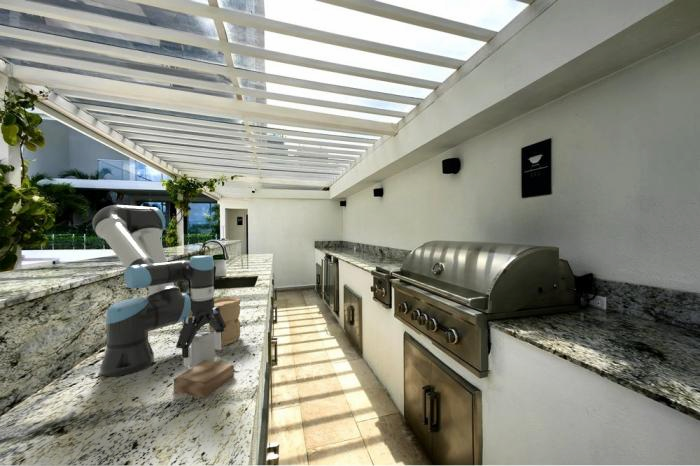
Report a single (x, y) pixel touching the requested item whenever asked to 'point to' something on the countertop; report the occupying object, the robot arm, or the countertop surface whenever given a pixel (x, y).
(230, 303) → the container
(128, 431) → the countertop surface
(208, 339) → the can
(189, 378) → the tan cardboard box
